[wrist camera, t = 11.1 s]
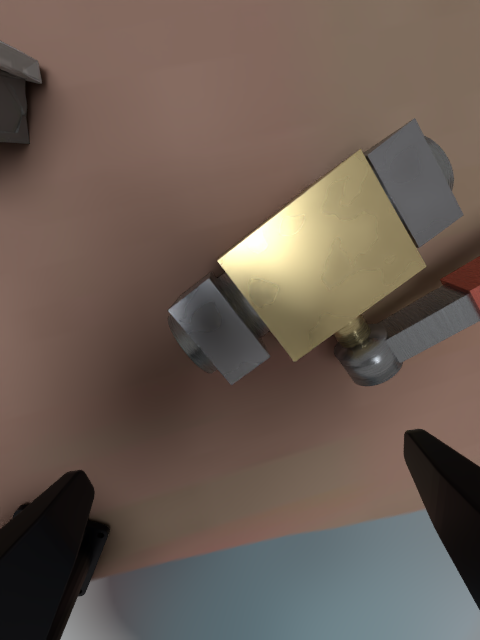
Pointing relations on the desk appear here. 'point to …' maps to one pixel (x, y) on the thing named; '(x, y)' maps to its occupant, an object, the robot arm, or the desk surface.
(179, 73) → the desk surface
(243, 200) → the desk surface
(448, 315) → the lever
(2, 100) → the electrical switch
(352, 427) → the desk surface
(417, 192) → the valve
